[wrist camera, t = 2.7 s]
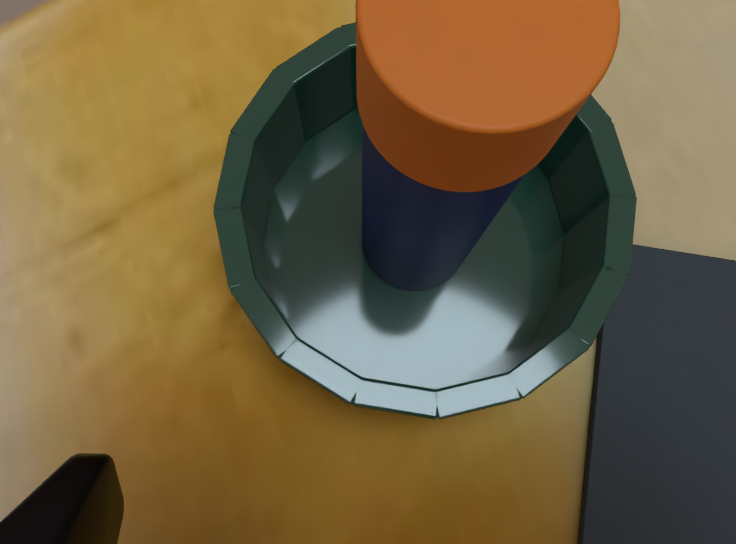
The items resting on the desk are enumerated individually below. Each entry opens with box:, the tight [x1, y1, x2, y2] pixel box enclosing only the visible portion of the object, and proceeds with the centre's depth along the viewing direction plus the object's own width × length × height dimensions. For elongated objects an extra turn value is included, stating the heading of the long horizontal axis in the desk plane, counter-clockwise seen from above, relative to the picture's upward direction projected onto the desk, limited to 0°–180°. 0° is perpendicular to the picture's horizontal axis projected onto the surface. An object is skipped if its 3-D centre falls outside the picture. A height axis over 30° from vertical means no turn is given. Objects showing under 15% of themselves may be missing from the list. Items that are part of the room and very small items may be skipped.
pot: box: [213, 23, 637, 419], centre depth 19 cm, size 10×10×4 cm
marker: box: [356, 0, 620, 291], centre depth 15 cm, size 3×3×12 cm
